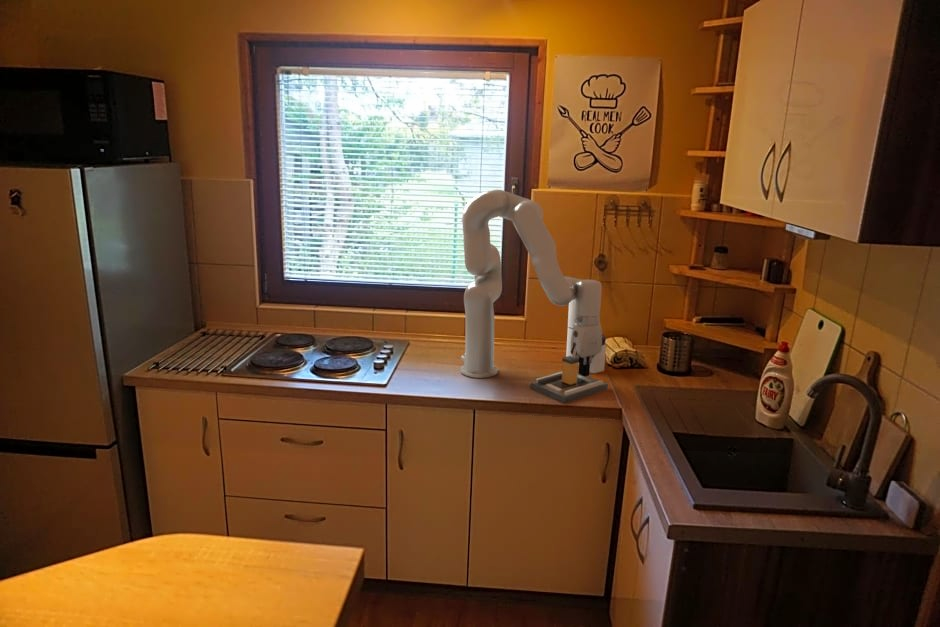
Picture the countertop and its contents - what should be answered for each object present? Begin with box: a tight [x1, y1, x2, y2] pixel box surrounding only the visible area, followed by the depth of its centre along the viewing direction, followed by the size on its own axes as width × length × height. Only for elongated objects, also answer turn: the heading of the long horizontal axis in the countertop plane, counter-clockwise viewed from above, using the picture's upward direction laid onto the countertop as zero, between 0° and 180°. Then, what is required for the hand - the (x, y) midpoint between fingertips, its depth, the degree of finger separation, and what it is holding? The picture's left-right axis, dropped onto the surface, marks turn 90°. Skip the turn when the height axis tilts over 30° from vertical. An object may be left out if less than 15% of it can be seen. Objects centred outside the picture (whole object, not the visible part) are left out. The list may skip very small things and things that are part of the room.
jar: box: [589, 333, 607, 374], centre depth 214 cm, size 9×8×12 cm
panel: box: [529, 371, 609, 405], centre depth 198 cm, size 15×19×2 cm
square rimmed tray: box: [535, 371, 604, 395], centre depth 197 cm, size 14×16×1 cm
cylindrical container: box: [565, 300, 579, 365], centre depth 221 cm, size 7×7×25 cm
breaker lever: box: [561, 356, 579, 385], centre depth 196 cm, size 4×3×8 cm
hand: (583, 374), depth 201 cm, fingers closed
